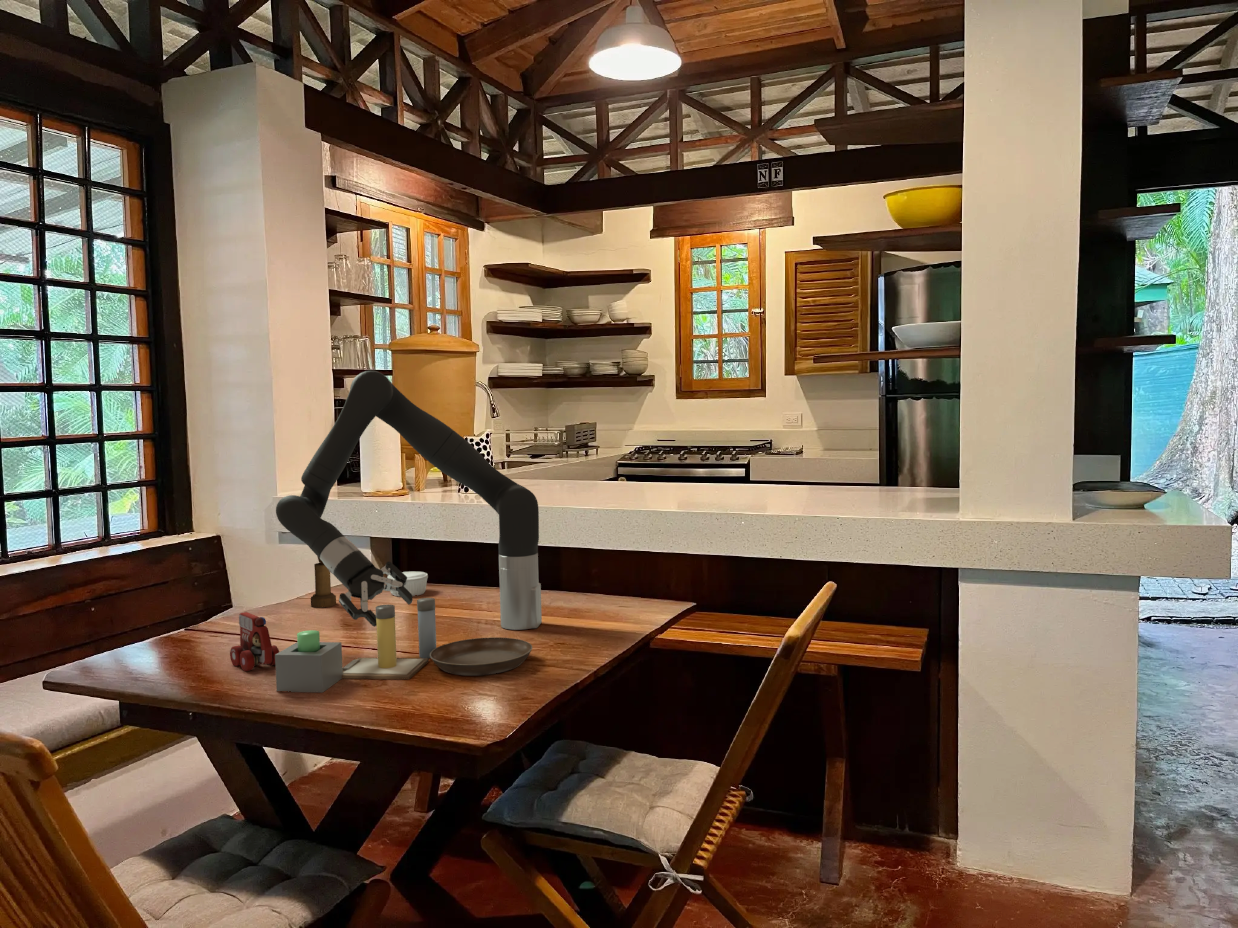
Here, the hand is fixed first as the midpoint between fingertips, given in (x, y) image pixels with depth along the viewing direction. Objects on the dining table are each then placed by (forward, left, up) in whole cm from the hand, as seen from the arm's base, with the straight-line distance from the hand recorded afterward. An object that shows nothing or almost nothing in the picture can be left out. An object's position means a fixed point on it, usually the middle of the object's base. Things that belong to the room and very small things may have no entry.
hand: (395, 613), depth 194 cm
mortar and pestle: (+36, -43, -9) cm, 57 cm away
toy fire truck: (+26, +11, -9) cm, 30 cm away
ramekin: (+18, -58, -9) cm, 62 cm away
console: (+9, +23, -8) cm, 26 cm away
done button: (+9, +23, -2) cm, 24 cm away
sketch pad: (-2, +13, -8) cm, 15 cm away
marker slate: (-8, +3, -8) cm, 12 cm away
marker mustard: (-3, +13, -8) cm, 15 cm away
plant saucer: (-21, +8, -9) cm, 24 cm away
